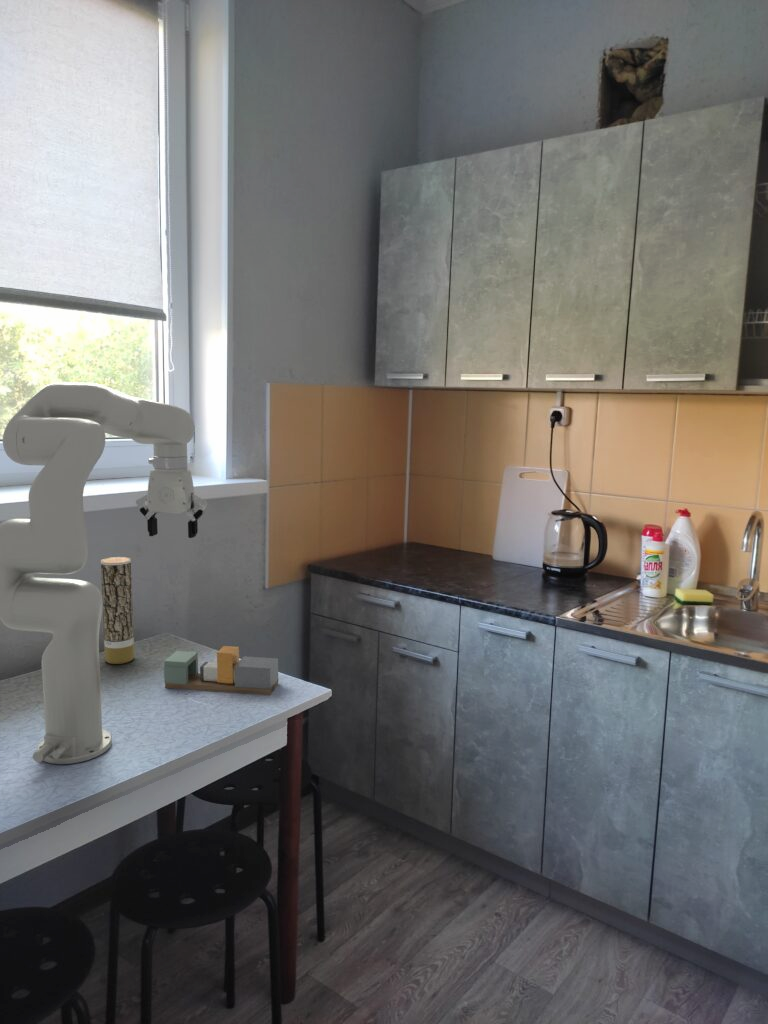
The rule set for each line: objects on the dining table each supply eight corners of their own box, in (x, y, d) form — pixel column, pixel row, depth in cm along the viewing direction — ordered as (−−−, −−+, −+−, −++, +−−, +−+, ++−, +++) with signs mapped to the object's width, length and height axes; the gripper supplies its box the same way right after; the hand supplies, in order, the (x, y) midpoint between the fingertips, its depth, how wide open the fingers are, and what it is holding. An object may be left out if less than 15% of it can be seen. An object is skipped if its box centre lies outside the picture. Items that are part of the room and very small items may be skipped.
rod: (266, 686, 160) (265, 655, 159) (199, 681, 162) (198, 651, 161) (271, 678, 165) (271, 648, 164) (206, 674, 167) (205, 644, 166)
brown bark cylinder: (115, 667, 174) (111, 564, 170) (99, 660, 178) (94, 560, 174) (140, 659, 180) (136, 559, 176) (124, 653, 184) (120, 555, 180)
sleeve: (270, 689, 159) (270, 668, 159) (234, 687, 160) (234, 666, 160) (278, 678, 166) (278, 658, 165) (243, 676, 167) (243, 656, 166)
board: (270, 695, 159) (270, 689, 159) (165, 687, 163) (164, 682, 162) (278, 683, 166) (278, 678, 166) (177, 676, 169) (177, 671, 169)
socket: (186, 684, 161) (185, 662, 161) (164, 682, 162) (163, 661, 161) (198, 672, 168) (197, 651, 168) (177, 671, 169) (176, 650, 168)
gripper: (128, 464, 168) (130, 537, 171) (200, 466, 166) (201, 540, 168) (142, 461, 175) (145, 532, 178) (212, 463, 173) (213, 534, 176)
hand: (172, 536), depth 173 cm, fingers open, 9 cm apart
